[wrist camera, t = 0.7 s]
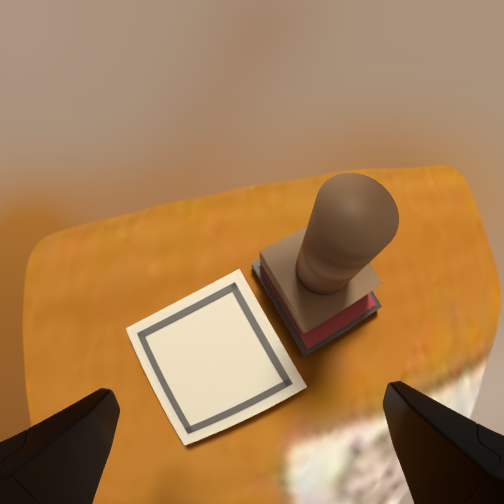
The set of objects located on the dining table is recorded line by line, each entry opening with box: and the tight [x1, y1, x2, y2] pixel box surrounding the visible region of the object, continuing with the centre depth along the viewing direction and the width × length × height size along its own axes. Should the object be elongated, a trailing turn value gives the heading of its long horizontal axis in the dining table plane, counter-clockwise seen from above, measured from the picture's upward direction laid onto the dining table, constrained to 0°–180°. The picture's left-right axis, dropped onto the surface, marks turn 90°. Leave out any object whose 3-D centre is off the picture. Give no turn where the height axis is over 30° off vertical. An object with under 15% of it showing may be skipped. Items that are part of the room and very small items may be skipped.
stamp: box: [260, 173, 399, 335], centre depth 16 cm, size 6×6×11 cm
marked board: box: [126, 269, 307, 445], centre depth 20 cm, size 10×10×1 cm
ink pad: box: [251, 259, 382, 356], centre depth 22 cm, size 8×7×1 cm
